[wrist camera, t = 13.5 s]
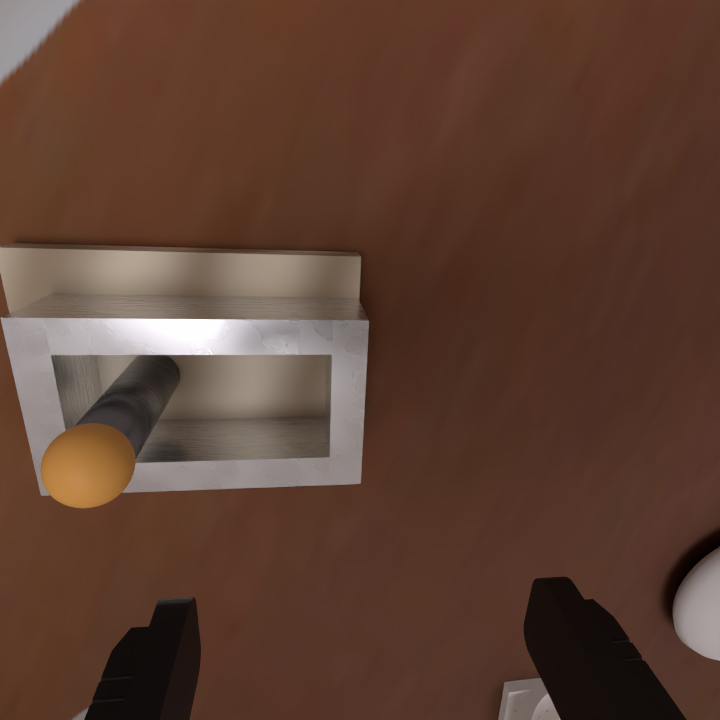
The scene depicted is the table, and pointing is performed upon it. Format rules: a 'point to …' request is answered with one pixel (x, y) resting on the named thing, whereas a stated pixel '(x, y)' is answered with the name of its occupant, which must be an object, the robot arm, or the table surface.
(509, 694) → the headphone stand
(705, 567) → the flower in vase
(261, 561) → the table surface
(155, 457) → the steel link
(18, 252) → the beige plate with rod
